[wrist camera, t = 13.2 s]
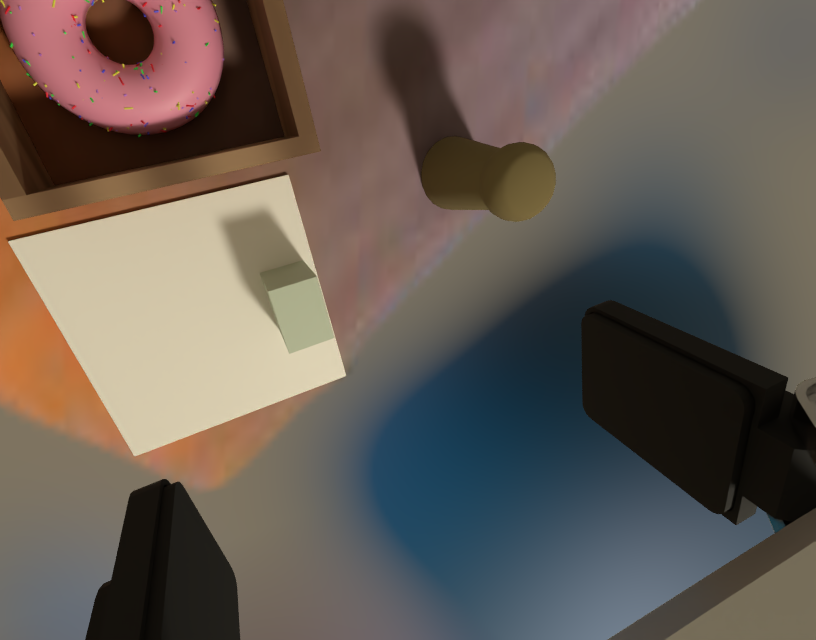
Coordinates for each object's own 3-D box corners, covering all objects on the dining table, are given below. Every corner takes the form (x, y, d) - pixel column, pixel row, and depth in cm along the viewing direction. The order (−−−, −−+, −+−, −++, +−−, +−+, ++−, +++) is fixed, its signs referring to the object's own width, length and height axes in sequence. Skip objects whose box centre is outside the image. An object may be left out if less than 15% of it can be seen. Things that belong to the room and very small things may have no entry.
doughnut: (231, -27, 29) (236, -50, 25) (213, 154, 32) (215, 156, 28) (9, -115, 24) (-24, -160, 20) (12, 108, 27) (-16, 104, 23)
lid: (286, 174, 34) (301, 180, 29) (343, 371, 42) (363, 403, 37) (12, 239, 29) (-26, 259, 24) (135, 450, 37) (126, 499, 32)
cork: (420, 210, 39) (490, 233, 30) (422, 135, 37) (498, 134, 27) (480, 208, 41) (563, 229, 32) (485, 136, 39) (576, 136, 30)
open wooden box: (221, -159, 26) (226, -224, 21) (303, 149, 34) (320, 151, 29) (-148, -152, 21) (-246, -234, 17) (43, 207, 29) (13, 221, 24)
